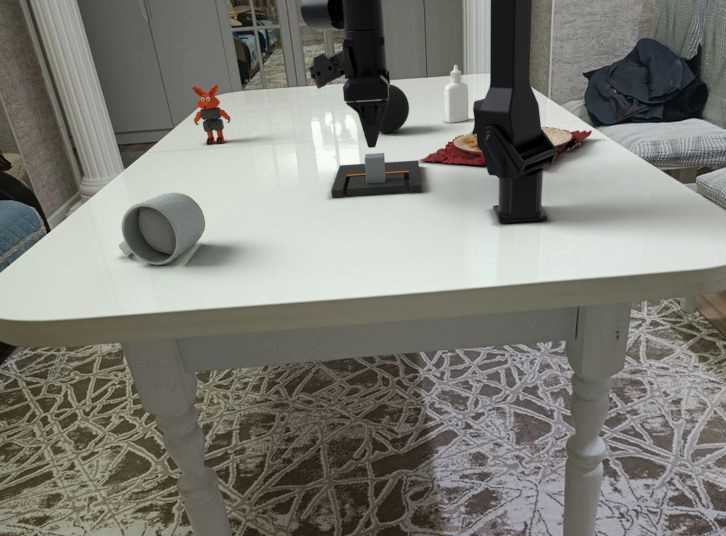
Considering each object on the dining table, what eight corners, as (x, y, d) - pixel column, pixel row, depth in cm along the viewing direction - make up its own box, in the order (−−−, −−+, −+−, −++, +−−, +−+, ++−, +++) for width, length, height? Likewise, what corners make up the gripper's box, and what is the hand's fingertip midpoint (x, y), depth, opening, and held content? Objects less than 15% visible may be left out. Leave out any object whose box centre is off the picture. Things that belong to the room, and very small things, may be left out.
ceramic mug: (214, 242, 85) (201, 184, 81) (185, 265, 78) (168, 204, 74) (143, 242, 87) (127, 186, 83) (108, 265, 80) (89, 205, 76)
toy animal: (194, 147, 141) (182, 89, 135) (200, 142, 145) (188, 85, 140) (230, 144, 141) (219, 86, 135) (235, 139, 145) (224, 83, 140)
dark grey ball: (406, 136, 137) (404, 86, 132) (361, 137, 139) (357, 88, 134) (413, 126, 145) (410, 79, 140) (370, 128, 147) (366, 81, 142)
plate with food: (592, 141, 123) (593, 122, 122) (543, 170, 104) (544, 148, 103) (480, 136, 135) (480, 119, 133) (419, 161, 116) (418, 141, 115)
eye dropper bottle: (443, 120, 150) (442, 64, 144) (467, 118, 150) (467, 63, 144) (445, 123, 147) (444, 67, 141) (470, 121, 147) (469, 65, 141)
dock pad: (421, 192, 99) (420, 184, 99) (332, 197, 100) (331, 189, 99) (418, 167, 113) (418, 159, 112) (340, 172, 114) (339, 164, 113)
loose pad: (405, 192, 100) (402, 159, 97) (347, 196, 100) (344, 162, 97) (404, 180, 106) (402, 148, 103) (350, 183, 106) (347, 152, 104)
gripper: (315, 29, 100) (327, 132, 108) (299, 37, 84) (314, 158, 91) (386, 24, 100) (393, 128, 107) (384, 32, 83) (392, 153, 91)
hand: (372, 140), depth 99 cm, fingers open, 9 cm apart
